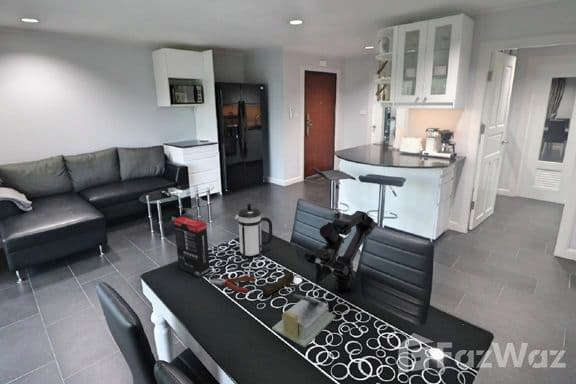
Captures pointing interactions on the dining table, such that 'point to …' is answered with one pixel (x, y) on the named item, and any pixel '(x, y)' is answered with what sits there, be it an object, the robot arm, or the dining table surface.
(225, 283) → the pliers
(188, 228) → the graphics card box
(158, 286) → the dining table surface
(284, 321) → the board
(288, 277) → the hand tool
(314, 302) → the dark grey flat bar
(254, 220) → the coffee press
